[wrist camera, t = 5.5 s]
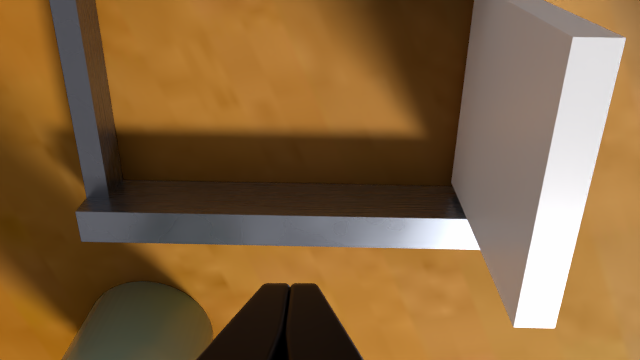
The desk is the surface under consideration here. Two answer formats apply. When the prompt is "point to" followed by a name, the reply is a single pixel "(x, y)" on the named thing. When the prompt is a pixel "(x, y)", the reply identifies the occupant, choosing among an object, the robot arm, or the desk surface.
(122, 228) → the frame
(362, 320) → the desk surface
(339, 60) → the desk surface
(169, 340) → the jar
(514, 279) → the pusher
